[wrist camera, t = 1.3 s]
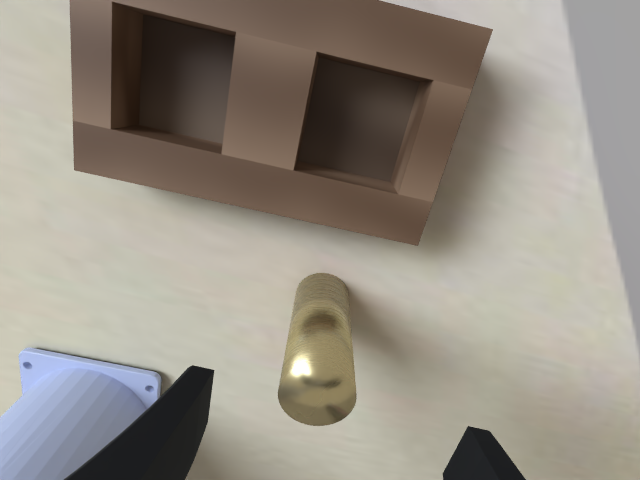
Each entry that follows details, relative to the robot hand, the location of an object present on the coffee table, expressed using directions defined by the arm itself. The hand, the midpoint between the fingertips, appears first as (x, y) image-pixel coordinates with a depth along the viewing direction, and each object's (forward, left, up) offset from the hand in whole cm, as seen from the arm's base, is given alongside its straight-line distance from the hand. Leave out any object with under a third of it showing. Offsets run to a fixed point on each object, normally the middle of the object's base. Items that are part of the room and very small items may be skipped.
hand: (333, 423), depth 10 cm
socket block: (+7, +4, -10) cm, 13 cm away
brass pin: (-2, 0, -10) cm, 10 cm away
